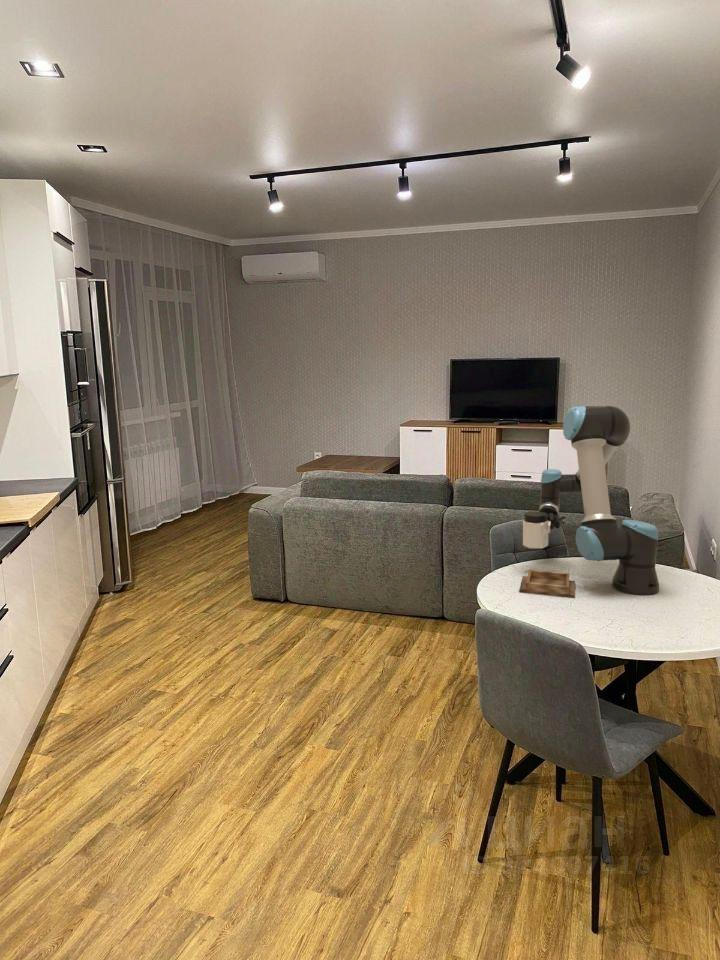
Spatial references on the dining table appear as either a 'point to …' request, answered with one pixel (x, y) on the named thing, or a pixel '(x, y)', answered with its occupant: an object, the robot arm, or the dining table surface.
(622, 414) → the robot arm
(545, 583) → the wooden tray
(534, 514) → the jar
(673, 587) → the dining table surface
